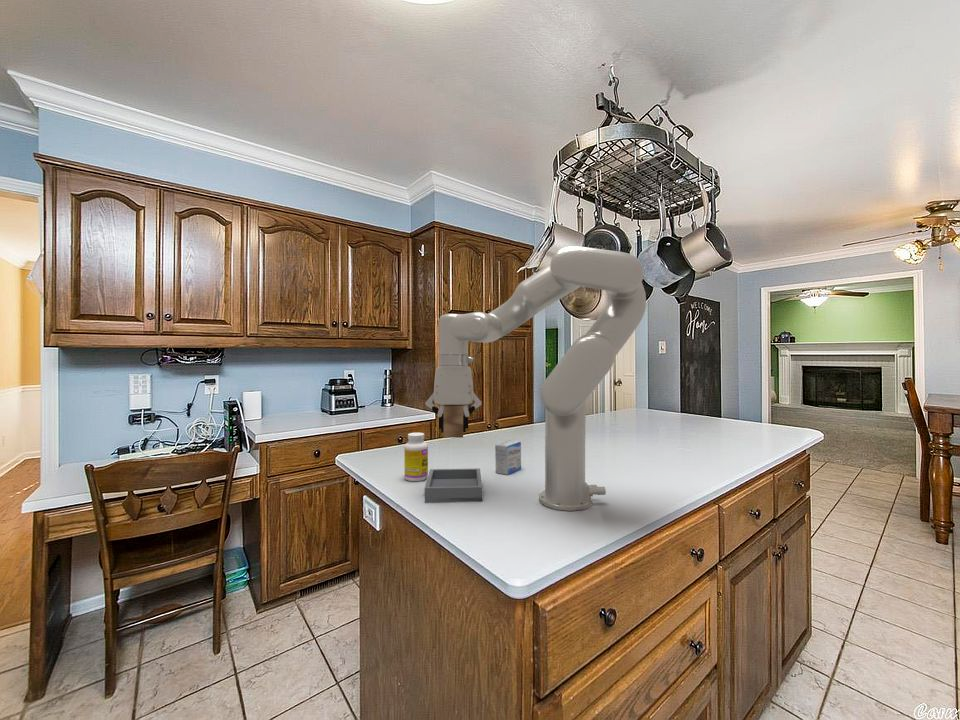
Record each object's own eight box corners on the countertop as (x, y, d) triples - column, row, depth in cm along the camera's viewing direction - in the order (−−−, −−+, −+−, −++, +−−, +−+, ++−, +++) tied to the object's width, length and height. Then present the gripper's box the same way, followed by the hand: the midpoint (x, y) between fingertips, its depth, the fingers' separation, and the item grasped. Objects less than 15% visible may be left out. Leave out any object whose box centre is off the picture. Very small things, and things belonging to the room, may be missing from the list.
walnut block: (463, 433, 110) (463, 403, 110) (463, 437, 105) (463, 406, 105) (444, 433, 110) (444, 403, 110) (443, 437, 105) (443, 406, 105)
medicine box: (507, 475, 121) (507, 446, 121) (495, 472, 124) (494, 444, 124) (521, 469, 127) (521, 441, 127) (509, 466, 130) (509, 439, 130)
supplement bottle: (424, 482, 115) (423, 436, 115) (401, 481, 116) (400, 436, 116) (430, 475, 121) (430, 432, 121) (409, 474, 123) (408, 431, 122)
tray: (480, 480, 116) (480, 468, 116) (482, 501, 100) (482, 487, 100) (430, 481, 116) (430, 469, 116) (424, 502, 100) (424, 488, 100)
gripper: (485, 361, 111) (485, 428, 112) (422, 361, 111) (422, 428, 111) (486, 362, 104) (486, 434, 104) (419, 362, 103) (419, 434, 104)
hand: (453, 430), depth 108 cm, fingers closed on walnut block, 5 cm apart
